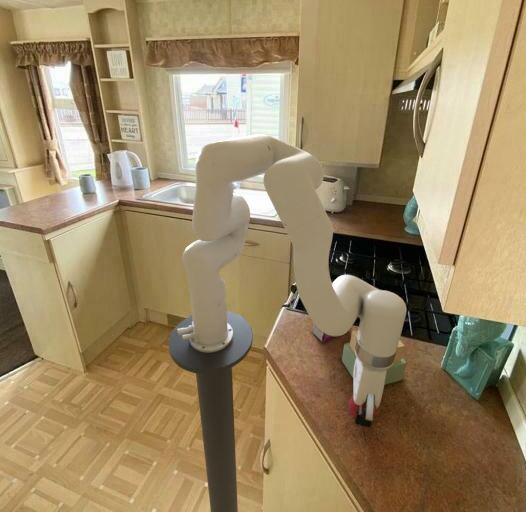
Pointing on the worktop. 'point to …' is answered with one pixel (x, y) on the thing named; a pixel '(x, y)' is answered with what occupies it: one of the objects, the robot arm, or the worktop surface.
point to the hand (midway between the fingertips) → (362, 409)
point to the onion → (357, 407)
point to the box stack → (392, 373)
